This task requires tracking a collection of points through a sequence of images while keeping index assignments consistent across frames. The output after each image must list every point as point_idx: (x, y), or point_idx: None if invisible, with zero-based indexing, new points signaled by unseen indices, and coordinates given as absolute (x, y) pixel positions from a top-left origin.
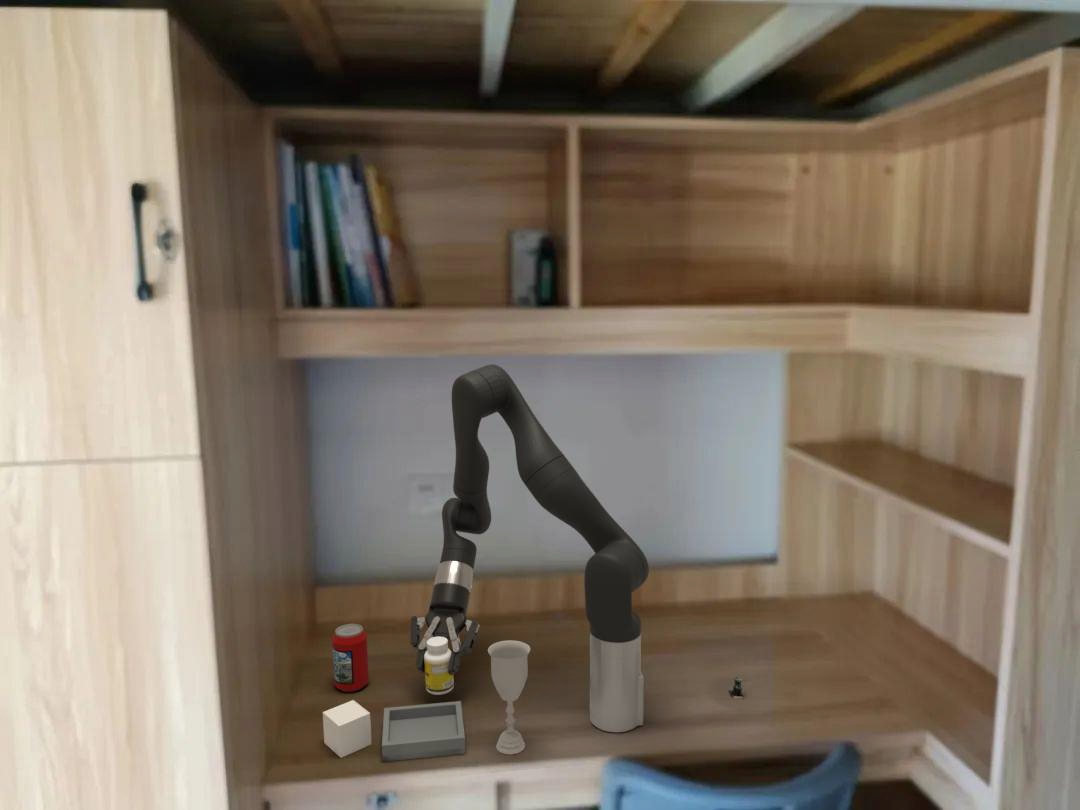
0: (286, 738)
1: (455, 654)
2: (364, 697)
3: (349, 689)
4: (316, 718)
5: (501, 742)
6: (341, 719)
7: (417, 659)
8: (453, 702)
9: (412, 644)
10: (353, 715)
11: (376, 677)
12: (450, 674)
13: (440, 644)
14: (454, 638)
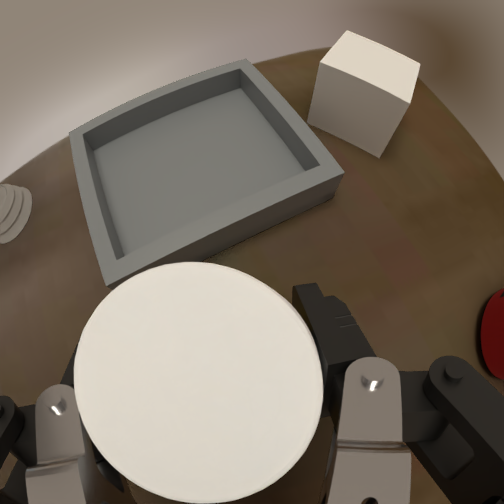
0: (455, 120)
1: None
2: (454, 297)
3: (495, 293)
4: (470, 182)
5: (15, 187)
6: (362, 44)
7: (350, 322)
8: (126, 269)
9: (448, 361)
10: (351, 53)
11: None
12: None
13: (115, 313)
14: (44, 465)
